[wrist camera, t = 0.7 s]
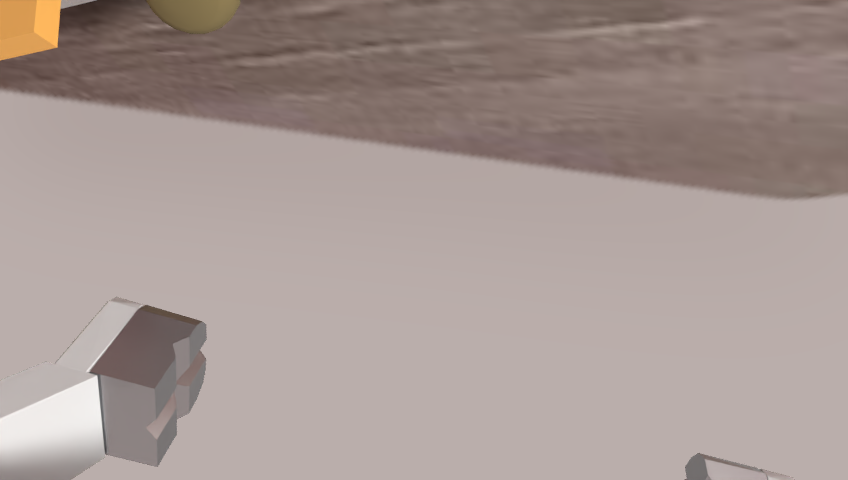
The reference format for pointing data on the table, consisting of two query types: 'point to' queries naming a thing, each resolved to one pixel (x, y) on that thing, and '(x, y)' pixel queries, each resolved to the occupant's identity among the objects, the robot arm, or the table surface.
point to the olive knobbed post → (195, 14)
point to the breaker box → (73, 3)
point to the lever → (28, 26)
